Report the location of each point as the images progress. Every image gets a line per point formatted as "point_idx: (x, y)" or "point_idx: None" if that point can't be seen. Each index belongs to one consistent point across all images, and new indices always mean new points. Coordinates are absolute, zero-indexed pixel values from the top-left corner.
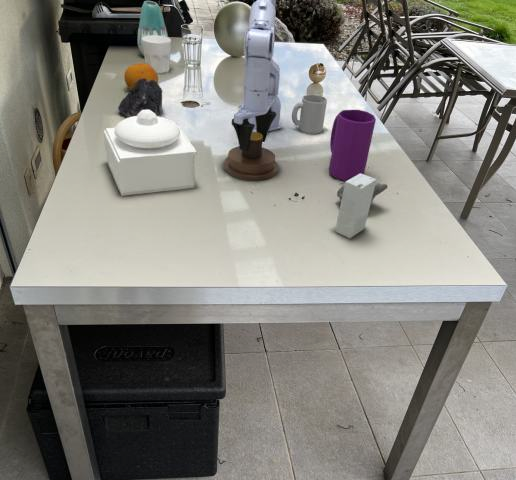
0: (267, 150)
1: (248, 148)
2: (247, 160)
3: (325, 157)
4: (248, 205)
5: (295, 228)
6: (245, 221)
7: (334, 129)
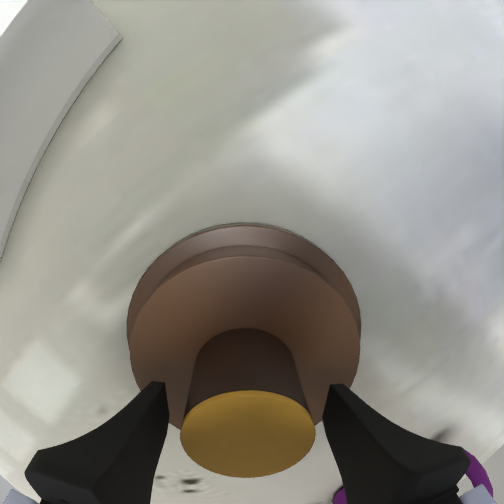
0: None
1: (166, 426)
2: (178, 384)
3: (444, 422)
4: (56, 420)
5: None
6: (21, 428)
7: (473, 484)
